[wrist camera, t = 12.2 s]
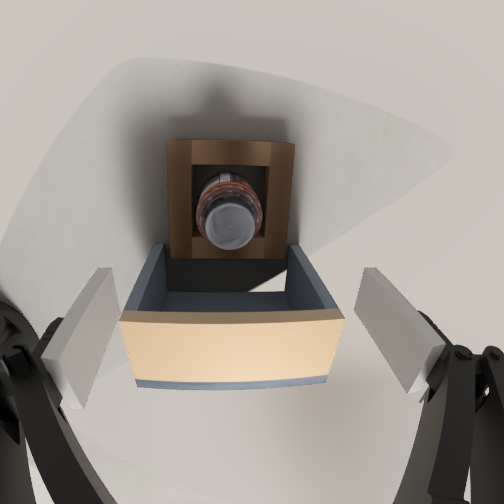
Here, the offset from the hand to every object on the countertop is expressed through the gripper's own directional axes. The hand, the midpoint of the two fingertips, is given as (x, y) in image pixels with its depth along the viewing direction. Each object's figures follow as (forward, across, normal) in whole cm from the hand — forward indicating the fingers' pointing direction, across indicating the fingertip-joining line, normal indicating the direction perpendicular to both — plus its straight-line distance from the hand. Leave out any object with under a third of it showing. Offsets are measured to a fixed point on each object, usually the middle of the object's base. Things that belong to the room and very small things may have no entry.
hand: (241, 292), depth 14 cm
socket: (+21, 0, 0) cm, 21 cm away
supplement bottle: (+21, 0, 0) cm, 21 cm away
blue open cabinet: (+21, 0, -10) cm, 23 cm away
